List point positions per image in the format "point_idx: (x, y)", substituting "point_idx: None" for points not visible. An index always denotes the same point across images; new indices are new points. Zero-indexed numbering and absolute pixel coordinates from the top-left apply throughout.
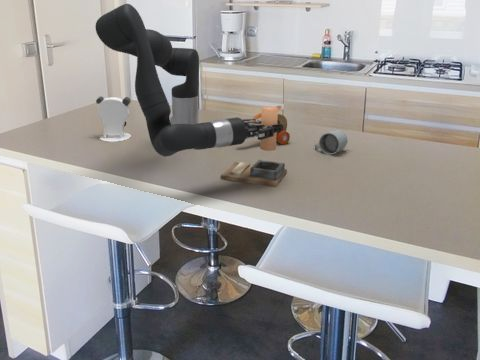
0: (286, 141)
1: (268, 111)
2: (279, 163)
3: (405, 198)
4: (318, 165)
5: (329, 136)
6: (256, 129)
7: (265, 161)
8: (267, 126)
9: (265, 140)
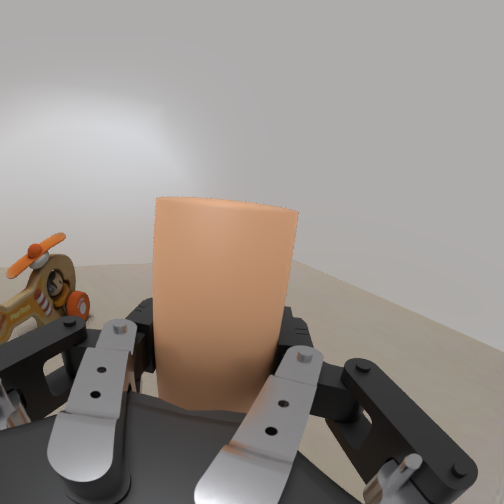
0: (86, 313)
1: (280, 229)
2: None
3: (422, 353)
4: None
5: None
6: (343, 489)
7: None
8: (317, 376)
9: None
